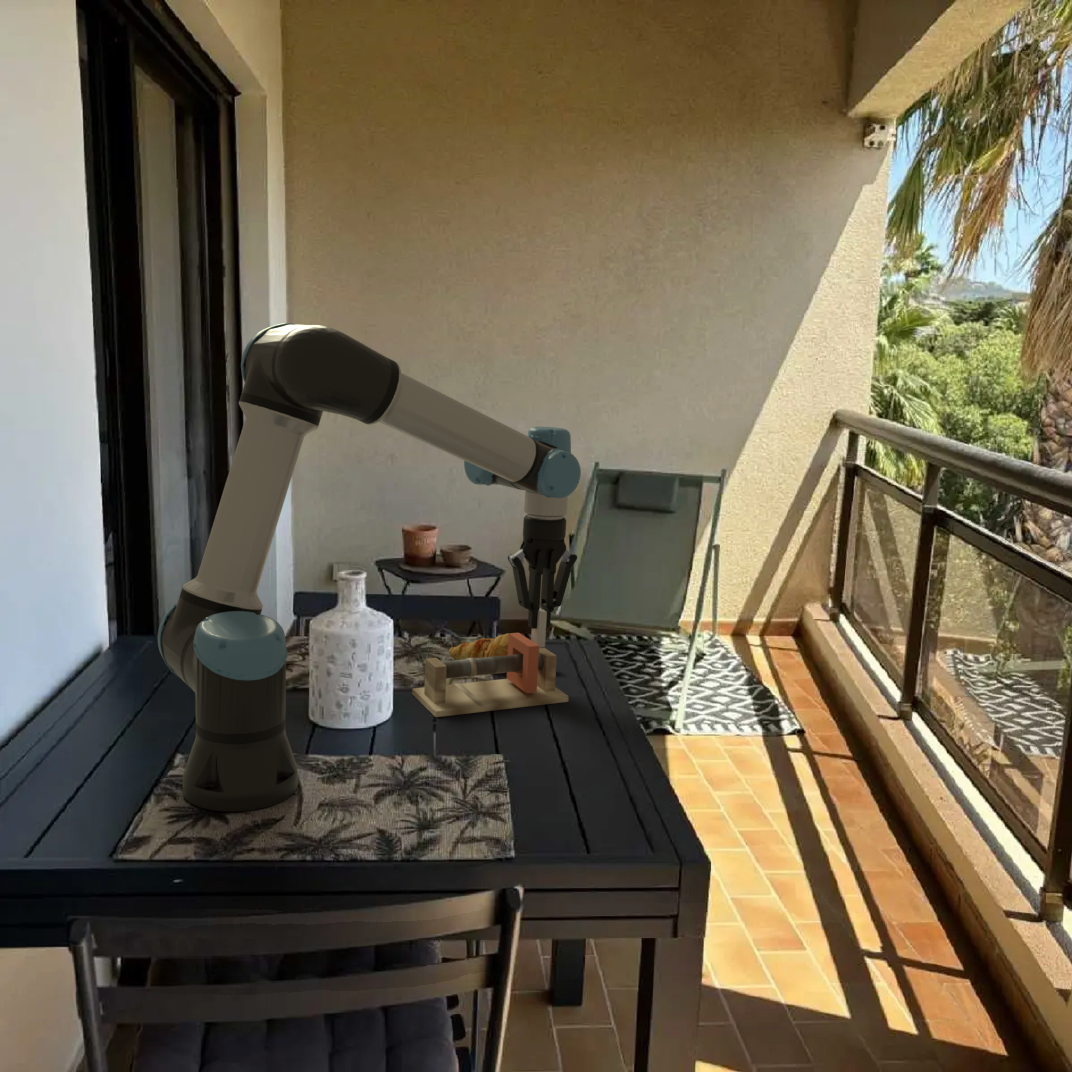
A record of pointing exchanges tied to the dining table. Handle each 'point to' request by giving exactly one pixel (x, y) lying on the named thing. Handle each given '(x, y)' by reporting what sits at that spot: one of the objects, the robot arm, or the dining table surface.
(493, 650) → the croissant
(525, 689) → the ring
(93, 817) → the dining table surface
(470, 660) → the pipe jig
